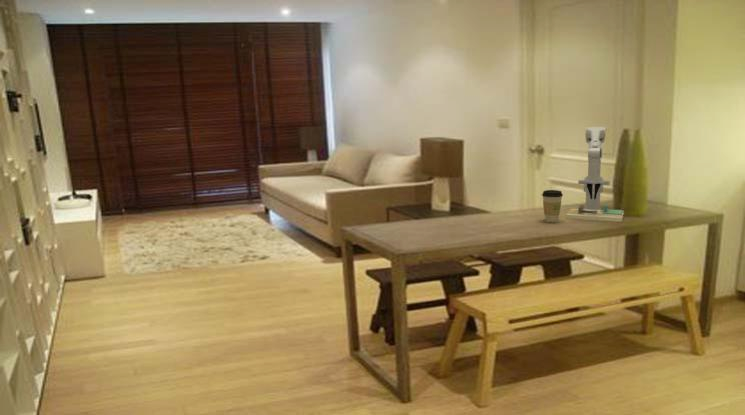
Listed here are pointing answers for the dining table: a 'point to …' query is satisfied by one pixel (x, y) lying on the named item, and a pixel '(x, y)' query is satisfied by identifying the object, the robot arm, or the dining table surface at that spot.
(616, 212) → the cover
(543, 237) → the dining table surface
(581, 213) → the t key
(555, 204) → the coffee cup
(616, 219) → the board
